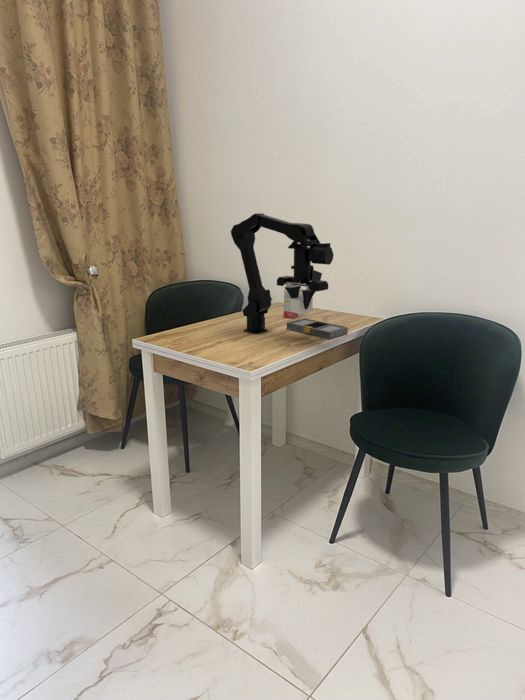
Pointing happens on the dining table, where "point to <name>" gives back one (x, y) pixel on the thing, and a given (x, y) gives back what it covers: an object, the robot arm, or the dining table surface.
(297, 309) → the light grey rectangular block
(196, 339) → the dining table surface
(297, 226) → the robot arm
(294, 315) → the ink box
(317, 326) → the frame
